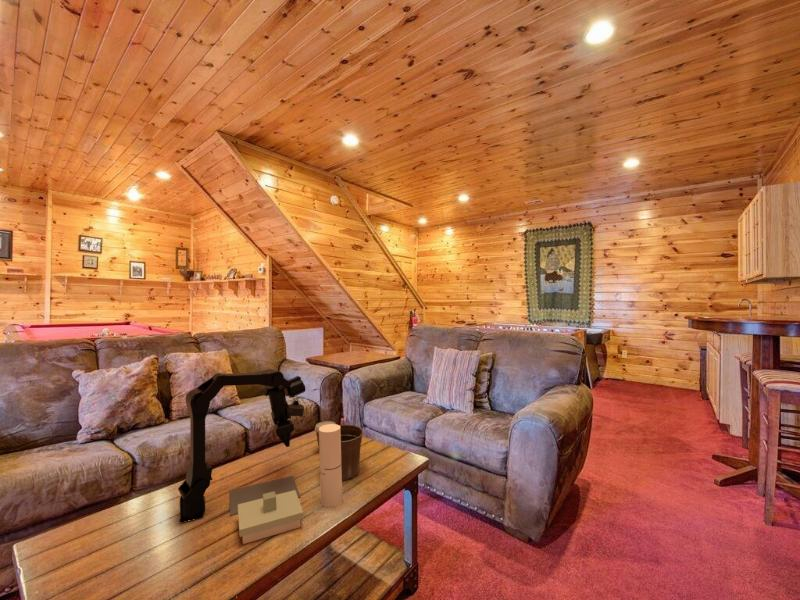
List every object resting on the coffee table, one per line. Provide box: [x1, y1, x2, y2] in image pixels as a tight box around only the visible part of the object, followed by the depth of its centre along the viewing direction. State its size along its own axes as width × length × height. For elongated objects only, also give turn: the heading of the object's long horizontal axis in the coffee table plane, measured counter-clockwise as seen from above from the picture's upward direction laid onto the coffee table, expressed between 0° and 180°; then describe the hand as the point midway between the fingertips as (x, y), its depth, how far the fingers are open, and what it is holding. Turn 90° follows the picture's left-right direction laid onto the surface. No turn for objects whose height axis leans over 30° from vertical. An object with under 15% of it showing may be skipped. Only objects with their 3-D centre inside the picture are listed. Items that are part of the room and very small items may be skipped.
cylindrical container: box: [318, 424, 343, 508], centre depth 123 cm, size 7×7×25 cm
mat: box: [229, 475, 301, 517], centre depth 129 cm, size 22×16×1 cm
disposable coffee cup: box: [314, 420, 336, 448], centre depth 161 cm, size 10×10×12 cm
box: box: [242, 520, 302, 545], centre depth 112 cm, size 16×12×4 cm
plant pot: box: [338, 424, 364, 482], centre depth 142 cm, size 16×16×16 cm
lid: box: [237, 490, 304, 538], centre depth 112 cm, size 18×14×6 cm
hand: (286, 441), depth 138 cm, fingers open, 9 cm apart
